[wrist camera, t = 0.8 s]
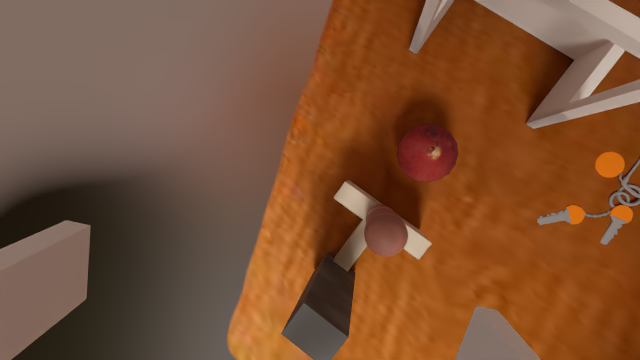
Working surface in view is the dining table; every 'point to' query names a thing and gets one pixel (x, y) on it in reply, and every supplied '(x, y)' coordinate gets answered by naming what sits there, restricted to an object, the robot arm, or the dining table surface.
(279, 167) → the dining table surface
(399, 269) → the dining table surface
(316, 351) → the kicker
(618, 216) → the key chain
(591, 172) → the dining table surface
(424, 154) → the onion
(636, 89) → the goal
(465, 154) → the dining table surface
